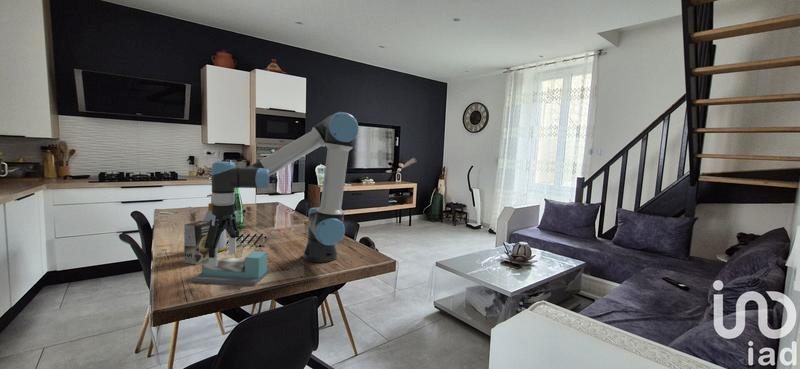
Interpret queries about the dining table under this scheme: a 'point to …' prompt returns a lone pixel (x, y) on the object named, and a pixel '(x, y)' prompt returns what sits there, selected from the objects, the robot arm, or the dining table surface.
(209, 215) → the soap bottle
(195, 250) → the coffee box
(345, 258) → the dining table surface
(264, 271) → the light blue stand
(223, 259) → the clear long block
